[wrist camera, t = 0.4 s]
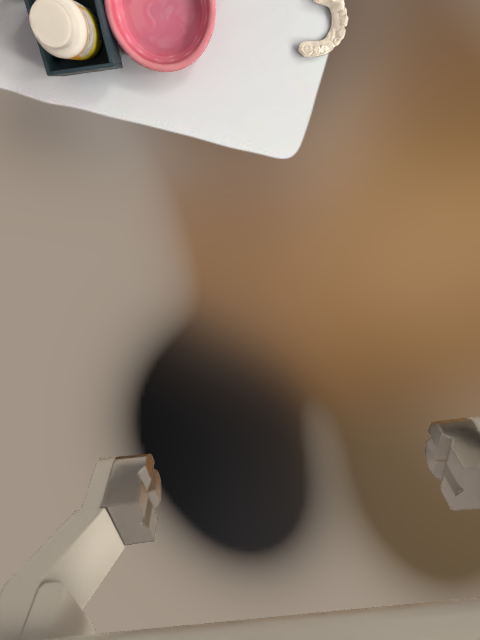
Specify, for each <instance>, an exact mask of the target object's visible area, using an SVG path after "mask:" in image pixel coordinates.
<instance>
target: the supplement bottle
mask: <svg viewBox="0 0 480 640" xmlns="http://www.w3.org/2000/svg"><path fill="white" fill-rule="evenodd" d="M29 21H30V26H31V29H32V31H33V33H34V35H35V37H36V39H37V41H38V42H39V43H40V45H41V46H42V47H43V48H44V49H45V50H46V51H47V52H49V53H50V54H52V55H54V56H56V57H59V58H64V59H73V60H80V61H88V60H91V59H93V58H95V57H96V56H97V55H98V54H99V53H100V51H101V49H102V46H103V42H104V38H103V34H102V30H101V26H100V22H99V20H98V18H97V17H96V15H95V14H94V13H93V12H92V11H91V10H90V9H88V8H87V7H85V6H84V5H82V4H80V3H78V2H76V1H74V0H36V1H35V2H34V4H33V5H32V7H31V9H30V14H29Z"/></svg>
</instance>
